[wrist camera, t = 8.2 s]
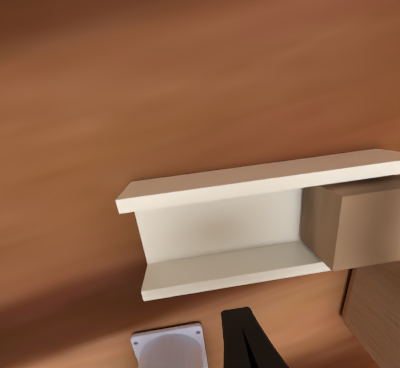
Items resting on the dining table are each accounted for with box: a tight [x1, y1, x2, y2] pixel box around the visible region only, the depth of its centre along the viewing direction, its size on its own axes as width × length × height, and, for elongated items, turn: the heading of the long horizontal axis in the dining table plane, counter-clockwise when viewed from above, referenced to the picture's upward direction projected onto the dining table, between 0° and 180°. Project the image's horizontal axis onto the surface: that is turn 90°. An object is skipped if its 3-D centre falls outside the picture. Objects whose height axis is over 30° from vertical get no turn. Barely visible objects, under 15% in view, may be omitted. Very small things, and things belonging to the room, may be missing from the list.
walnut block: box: [301, 175, 400, 272], centre depth 15 cm, size 6×6×4 cm
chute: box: [116, 149, 400, 301], centre depth 16 cm, size 22×9×4 cm, turn 96°
